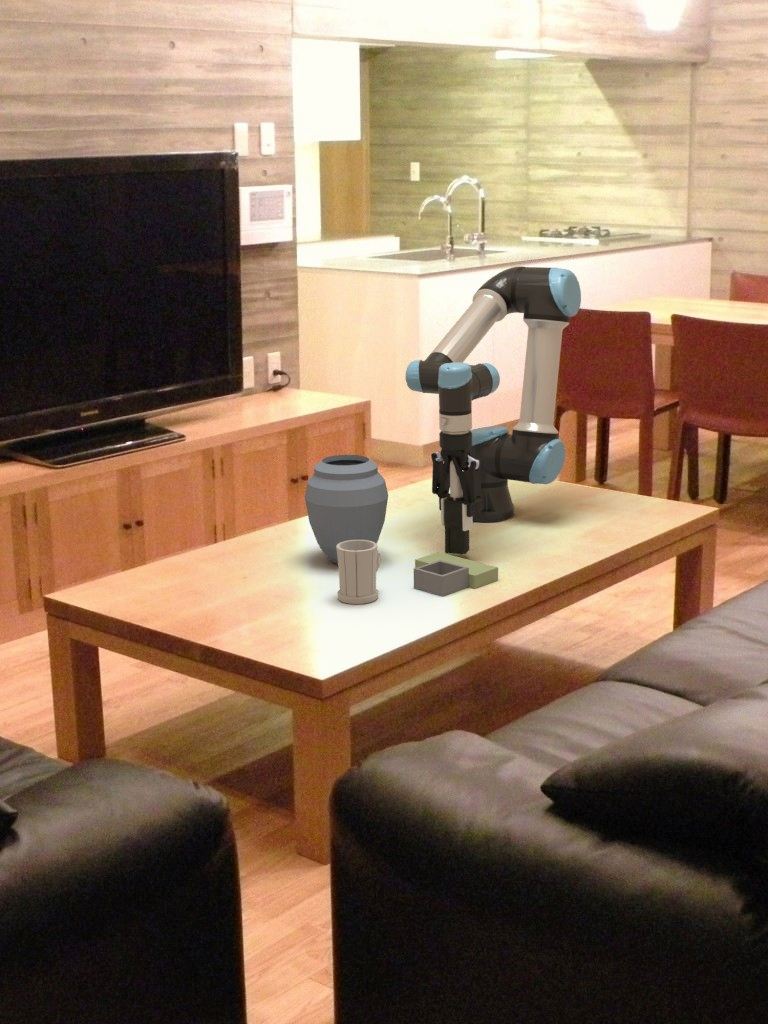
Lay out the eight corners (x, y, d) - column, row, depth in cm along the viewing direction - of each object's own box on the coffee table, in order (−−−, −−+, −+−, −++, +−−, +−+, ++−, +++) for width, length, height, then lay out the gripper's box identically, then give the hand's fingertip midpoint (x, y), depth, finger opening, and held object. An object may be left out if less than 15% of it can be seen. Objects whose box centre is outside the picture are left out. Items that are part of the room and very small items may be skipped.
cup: (339, 589, 305) (338, 537, 302) (380, 589, 305) (379, 537, 302) (336, 605, 295) (334, 551, 292) (378, 604, 295) (377, 551, 292)
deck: (388, 580, 311) (388, 561, 309) (438, 564, 322) (438, 545, 321) (448, 598, 298) (448, 578, 297) (498, 580, 310) (498, 561, 308)
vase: (289, 562, 326) (285, 461, 319) (347, 543, 339) (345, 447, 333) (348, 578, 313) (346, 474, 306) (406, 558, 326) (405, 458, 320)
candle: (470, 548, 328) (469, 445, 321) (464, 554, 323) (463, 450, 316) (449, 546, 329) (448, 444, 322) (443, 553, 325) (442, 449, 318)
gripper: (414, 428, 322) (416, 523, 328) (476, 439, 309) (477, 538, 315) (436, 422, 327) (437, 516, 333) (497, 433, 314) (498, 530, 320)
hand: (456, 526), depth 324 cm, fingers closed on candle, 6 cm apart
